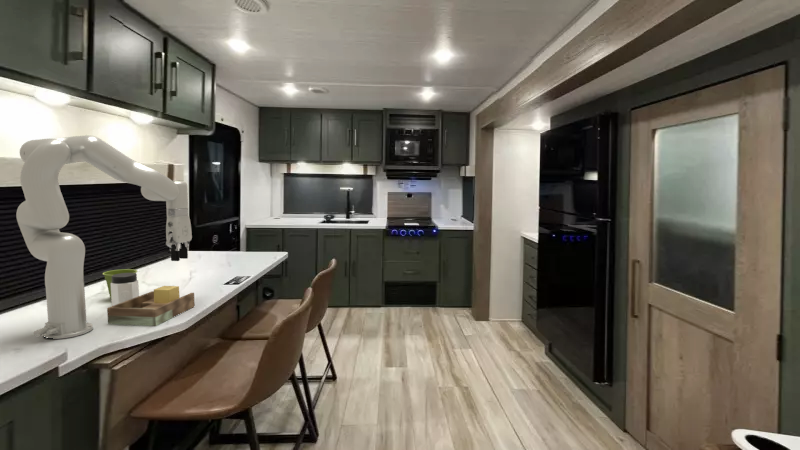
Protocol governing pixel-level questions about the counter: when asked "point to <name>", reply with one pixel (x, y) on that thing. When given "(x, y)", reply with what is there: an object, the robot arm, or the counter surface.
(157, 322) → the wooden tray
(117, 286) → the jar
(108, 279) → the plant pot
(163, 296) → the block
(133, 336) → the counter surface
